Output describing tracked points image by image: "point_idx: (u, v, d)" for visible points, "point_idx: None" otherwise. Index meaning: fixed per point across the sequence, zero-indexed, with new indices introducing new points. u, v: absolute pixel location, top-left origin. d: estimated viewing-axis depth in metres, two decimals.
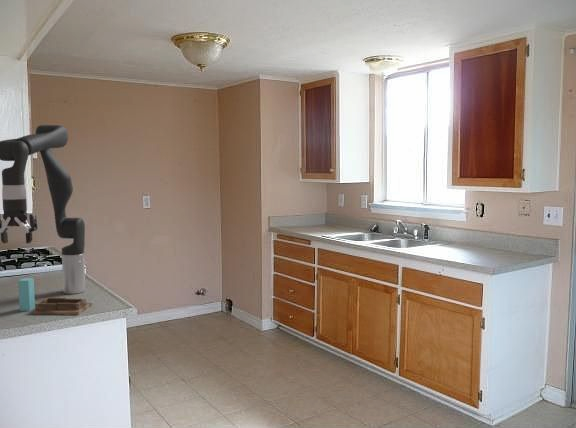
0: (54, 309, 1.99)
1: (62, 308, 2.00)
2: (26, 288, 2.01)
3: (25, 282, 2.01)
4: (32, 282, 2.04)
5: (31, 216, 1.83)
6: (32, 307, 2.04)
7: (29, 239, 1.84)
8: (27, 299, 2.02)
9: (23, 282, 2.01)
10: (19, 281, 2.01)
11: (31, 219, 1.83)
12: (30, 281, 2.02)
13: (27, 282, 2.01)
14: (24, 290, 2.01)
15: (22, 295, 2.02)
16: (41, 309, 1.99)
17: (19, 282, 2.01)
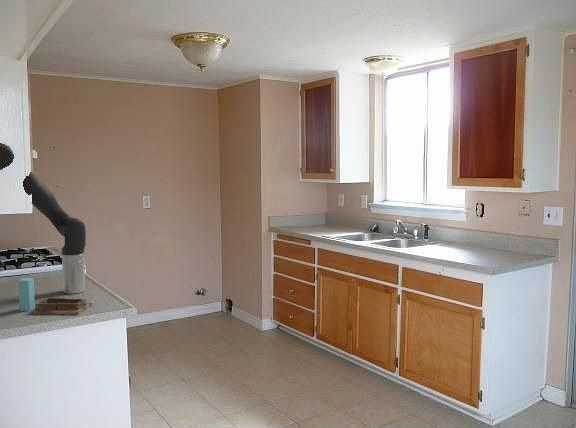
0: (54, 309, 1.99)
1: (62, 308, 2.00)
2: (26, 288, 2.01)
3: (25, 282, 2.01)
4: (32, 282, 2.04)
5: None
6: (32, 307, 2.04)
7: None
8: (27, 299, 2.02)
9: (23, 282, 2.01)
10: (19, 281, 2.01)
11: None
12: (30, 281, 2.02)
13: (27, 282, 2.01)
14: (24, 290, 2.01)
15: (22, 295, 2.02)
16: (41, 309, 1.99)
17: (19, 282, 2.01)
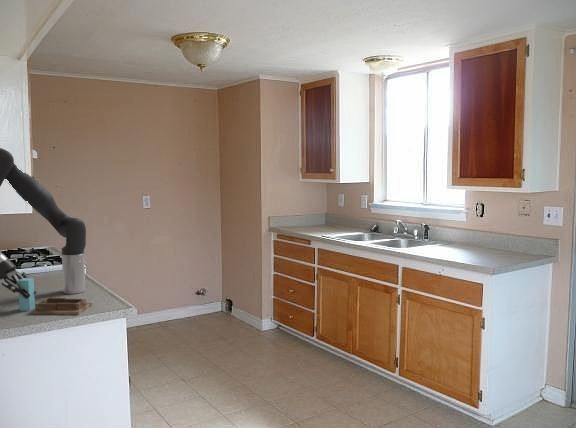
0: (54, 309, 1.99)
1: (62, 308, 2.00)
2: (26, 288, 2.01)
3: (25, 282, 2.01)
4: (32, 282, 2.04)
5: None
6: (32, 307, 2.04)
7: None
8: (27, 299, 2.02)
9: (23, 282, 2.01)
10: (19, 281, 2.01)
11: None
12: (30, 281, 2.02)
13: (27, 282, 2.01)
14: None
15: (21, 295, 2.02)
16: (41, 309, 1.99)
17: None
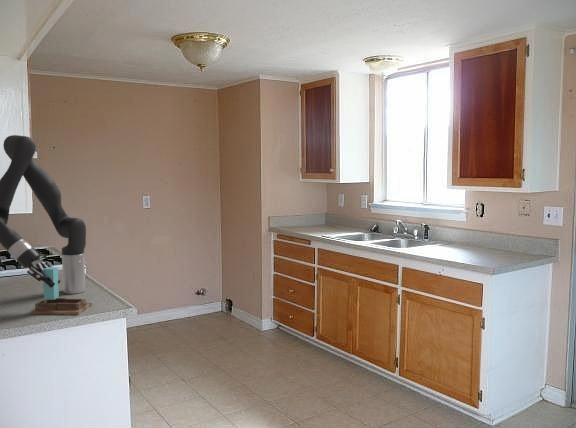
0: (54, 309, 1.99)
1: (62, 308, 2.00)
2: (51, 277, 2.00)
3: (50, 271, 2.00)
4: (56, 271, 2.03)
5: None
6: (56, 296, 2.03)
7: None
8: (52, 287, 2.01)
9: (48, 271, 2.00)
10: (44, 270, 2.00)
11: None
12: (55, 270, 2.02)
13: (52, 271, 2.00)
14: None
15: None
16: (41, 309, 1.99)
17: None
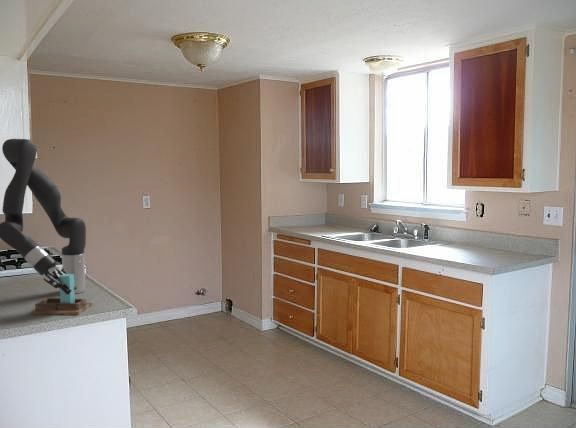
0: (54, 309, 1.99)
1: (62, 308, 2.00)
2: (67, 284, 2.01)
3: (66, 278, 2.00)
4: (73, 278, 2.03)
5: None
6: None
7: None
8: (68, 294, 2.01)
9: (64, 278, 2.00)
10: (60, 277, 2.00)
11: None
12: (71, 277, 2.02)
13: (68, 278, 2.00)
14: None
15: (62, 291, 2.01)
16: (41, 309, 1.99)
17: (60, 277, 2.00)
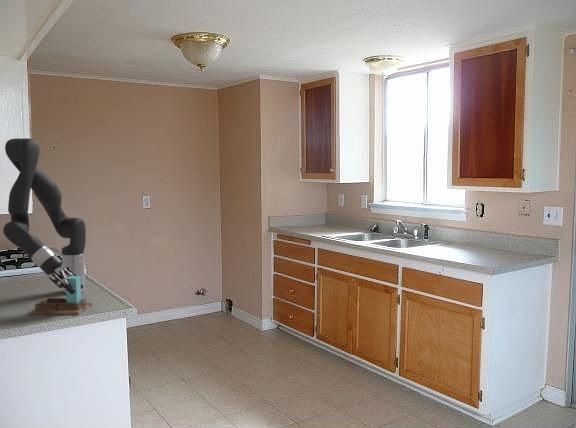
0: (54, 309, 1.99)
1: (62, 308, 2.00)
2: (74, 286, 2.01)
3: (73, 280, 2.00)
4: (79, 280, 2.03)
5: None
6: None
7: None
8: (75, 297, 2.01)
9: (71, 280, 2.00)
10: (67, 279, 2.00)
11: None
12: (77, 279, 2.02)
13: (75, 280, 2.00)
14: None
15: (69, 293, 2.01)
16: (41, 309, 1.99)
17: None
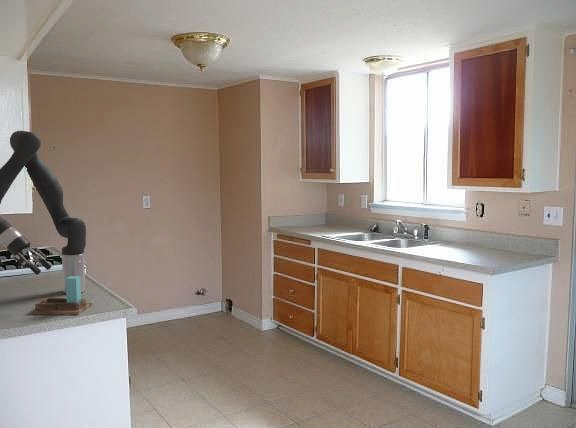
0: (54, 309, 1.99)
1: (62, 308, 2.00)
2: (74, 286, 2.01)
3: (73, 280, 2.00)
4: (79, 280, 2.03)
5: None
6: None
7: None
8: (75, 297, 2.01)
9: (71, 280, 2.00)
10: (67, 279, 2.00)
11: None
12: (77, 279, 2.02)
13: (75, 280, 2.00)
14: (72, 288, 2.01)
15: (69, 293, 2.01)
16: (41, 309, 1.99)
17: (66, 280, 2.00)
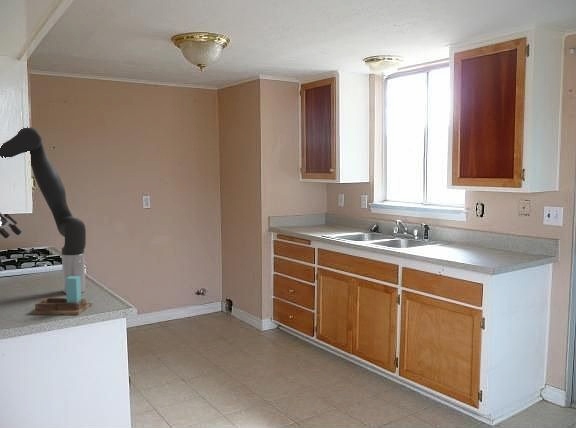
0: (54, 309, 1.99)
1: (62, 308, 2.00)
2: (74, 286, 2.01)
3: (73, 280, 2.00)
4: (79, 280, 2.03)
5: None
6: None
7: None
8: (75, 297, 2.01)
9: (71, 280, 2.00)
10: (67, 279, 2.00)
11: None
12: (77, 279, 2.02)
13: (75, 280, 2.00)
14: (72, 288, 2.01)
15: (69, 293, 2.01)
16: (41, 309, 1.99)
17: (66, 280, 2.00)
